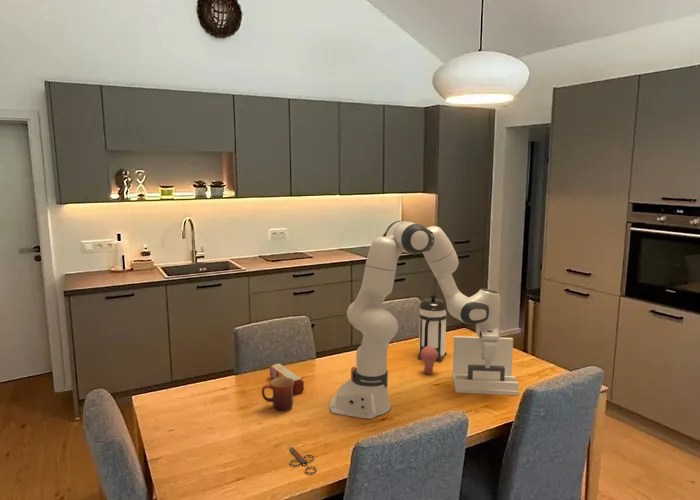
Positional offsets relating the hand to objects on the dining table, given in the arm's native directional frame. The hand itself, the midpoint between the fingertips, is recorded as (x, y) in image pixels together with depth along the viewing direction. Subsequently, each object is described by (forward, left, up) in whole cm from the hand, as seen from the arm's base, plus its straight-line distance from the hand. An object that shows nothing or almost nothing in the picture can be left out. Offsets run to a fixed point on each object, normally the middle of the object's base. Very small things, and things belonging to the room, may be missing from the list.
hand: (485, 363), depth 203 cm
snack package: (-80, -5, -11) cm, 81 cm away
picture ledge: (0, +4, -11) cm, 12 cm away
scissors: (-63, -57, -12) cm, 85 cm away
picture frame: (0, 0, -10) cm, 10 cm away
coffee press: (-20, +32, -11) cm, 39 cm away
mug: (-78, -25, -11) cm, 82 cm away
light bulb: (-22, +14, -11) cm, 28 cm away
